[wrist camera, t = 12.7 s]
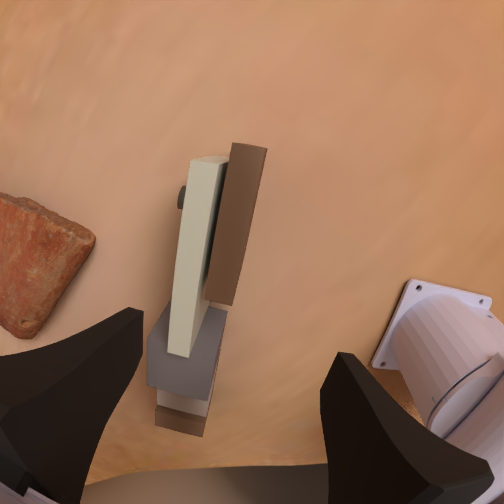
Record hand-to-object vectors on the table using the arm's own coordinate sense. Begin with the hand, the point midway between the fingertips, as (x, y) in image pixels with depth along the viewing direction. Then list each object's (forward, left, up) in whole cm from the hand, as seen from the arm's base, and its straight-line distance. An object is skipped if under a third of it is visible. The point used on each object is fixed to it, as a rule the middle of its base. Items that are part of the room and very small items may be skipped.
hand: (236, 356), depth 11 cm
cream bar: (+3, -1, -10) cm, 11 cm away
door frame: (+3, +3, -10) cm, 11 cm away
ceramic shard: (+21, +3, -11) cm, 24 cm away
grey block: (+3, +6, -10) cm, 12 cm away
